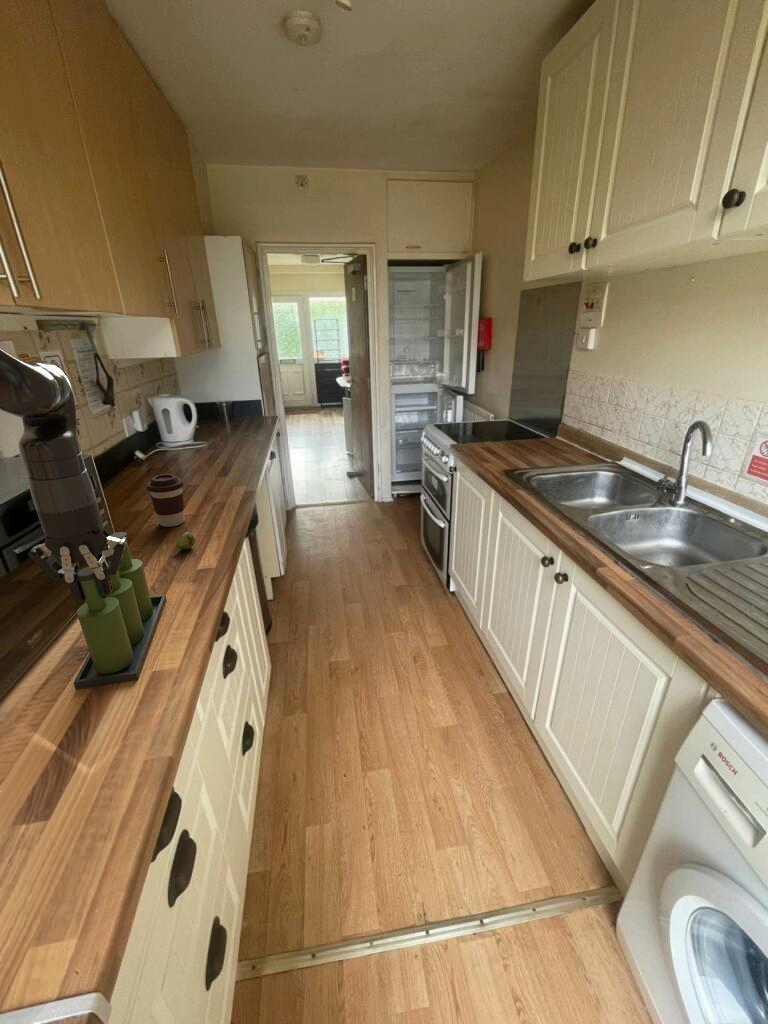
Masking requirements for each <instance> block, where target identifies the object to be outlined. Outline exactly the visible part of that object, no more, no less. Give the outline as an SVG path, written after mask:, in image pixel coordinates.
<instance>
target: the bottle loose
mask: <svg viewBox="0 0 768 1024" xmlns="http://www.w3.org/2000/svg"><path fill="white" fill-rule="evenodd" d="M76 575H77V578H78V580H79V581H80V583H81V586H82V589H83V592H84V596H85V599H84V600H85V603H84V604H82V605H80V606H79V608H77V611H76V616H77V619H78V621H79V624H80V628H81V631H82V633H83V637H84V640H85V642H86V645H87V649H88V652H89V653H90V655H91V658H92V661H93V664H94V667H95V670H96V671H97V672H98V673H100V674H111V673H115V672H118V671H120V670H122V669H124V668H125V667H127V666H128V665H129V664H130V663H131V662H132V660H133V657H134V656H133V652H132V648H131V644H130V641H129V637H128V634H127V630H126V626H125V623H124V619H123V616H122V612H121V608H120V605H119V601H118V600H117V599H116V598H114V597H108V598H102V597H101V594H100V590H99V587H98V583H97V579H98V578H97V577H96V575H95V573H94V571H93V569H90V567H89V566H86V567H83V568H80V569H79V571H78V572H77V573H76Z"/></svg>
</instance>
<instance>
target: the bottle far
mask: <svg viewBox="0 0 768 1024" xmlns="http://www.w3.org/2000/svg"><path fill="white" fill-rule="evenodd" d="M109 536H110V537H114V538H118V539H120V538H121V537H126V538H127V539H128V534H127V532H125V531H118V532H114V533H113V532H112V533H110V534H109ZM128 543H129V542H128ZM128 543H127V546H126V550H125V553H124V556H123V560H122V563H121V566H120V568H119V569H118V573H119V577H120V578H125V579H129V580H131V581H132V585H133V589H134V593H135V597H136V601H137V605H138V609H139V613H140V617H141V621H142V622H143V621H145V620H147V619H148V618H150V617H151V616H152V614H153V612H154V611H153V606H152V602H151V598H150V596H151V595H150V590H149V586H148V582H147V581H148V580H147V577H146V573H145V569H144V564H143V562H142V560H140V559H137V558H136V559H135V558H132V555H131V552H130V548H129V544H128Z"/></svg>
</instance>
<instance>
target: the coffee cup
mask: <svg viewBox="0 0 768 1024" xmlns="http://www.w3.org/2000/svg"><path fill="white" fill-rule="evenodd" d="M183 487H184V480H183V479H182V478H180V477H178V476H177V475H175V474H173V473H163V474H158V475H155V476H153V477H151V479H150V481H148V482H146V490H147V491H148V492H150V499H151V502H152V505H153V509H154V513H155V514H156V517H157V519H158V523H159V525H160V526H161V527H165V528H172V527H177V526H179V525H180V526H181V525H182V524H184V522H185V521H186V518H185V501H184V491H183Z"/></svg>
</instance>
